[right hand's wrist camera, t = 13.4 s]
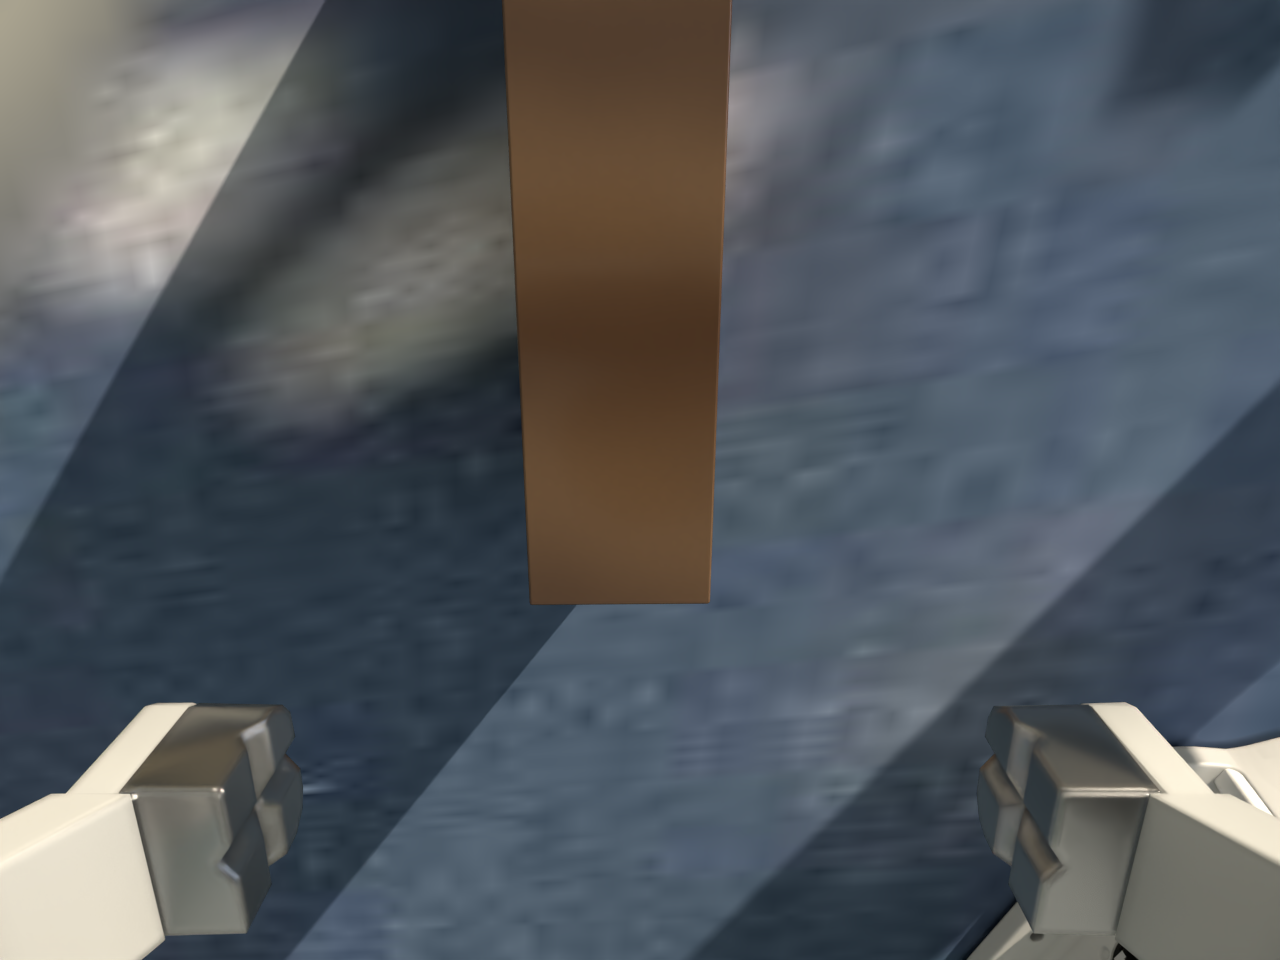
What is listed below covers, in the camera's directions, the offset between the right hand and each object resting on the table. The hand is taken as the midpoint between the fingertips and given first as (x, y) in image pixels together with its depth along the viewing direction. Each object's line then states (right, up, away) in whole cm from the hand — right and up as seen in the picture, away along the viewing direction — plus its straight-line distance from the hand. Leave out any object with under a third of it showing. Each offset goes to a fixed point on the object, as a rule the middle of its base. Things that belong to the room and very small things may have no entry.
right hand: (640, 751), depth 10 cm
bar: (-1, +14, +17) cm, 22 cm away
